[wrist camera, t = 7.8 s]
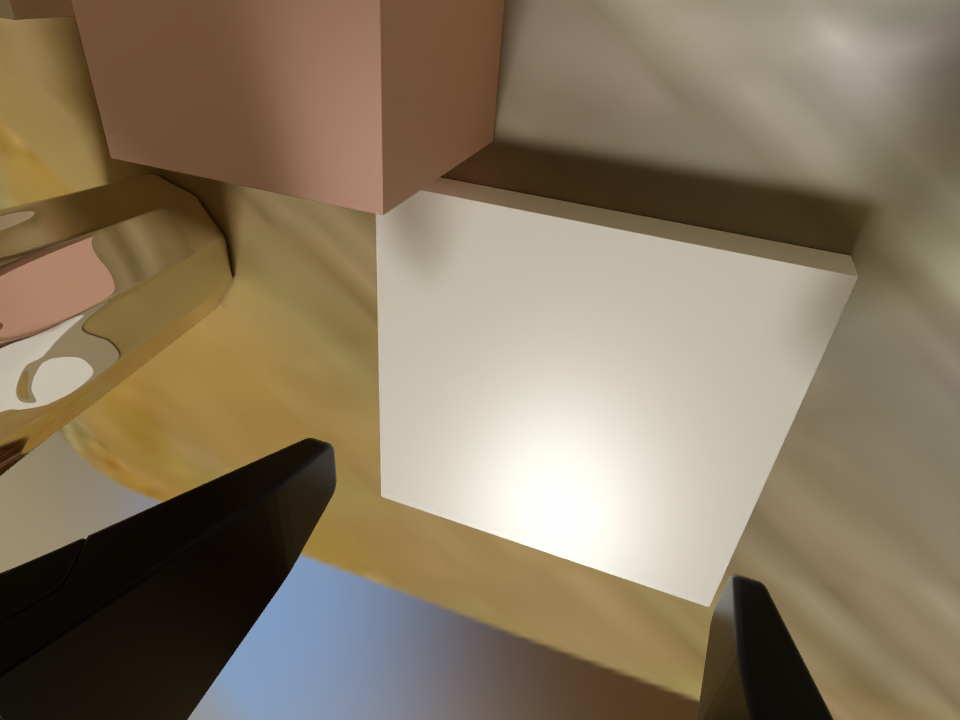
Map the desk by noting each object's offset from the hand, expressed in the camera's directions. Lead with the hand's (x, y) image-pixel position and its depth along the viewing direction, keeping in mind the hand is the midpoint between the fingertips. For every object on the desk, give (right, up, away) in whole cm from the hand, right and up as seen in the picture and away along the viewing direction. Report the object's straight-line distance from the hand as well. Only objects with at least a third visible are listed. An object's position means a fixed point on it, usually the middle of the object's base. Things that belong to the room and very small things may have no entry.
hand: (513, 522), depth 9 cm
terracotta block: (-2, +8, 0) cm, 9 cm away
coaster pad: (+1, +2, +3) cm, 4 cm away
